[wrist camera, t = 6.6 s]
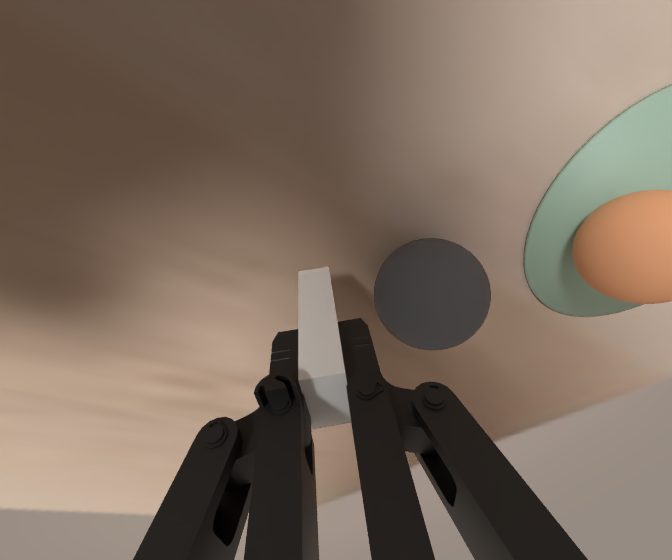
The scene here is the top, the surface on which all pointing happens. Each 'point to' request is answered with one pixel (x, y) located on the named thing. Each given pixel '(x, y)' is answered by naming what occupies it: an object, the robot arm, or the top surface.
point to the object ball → (628, 247)
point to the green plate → (597, 201)
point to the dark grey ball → (432, 294)
